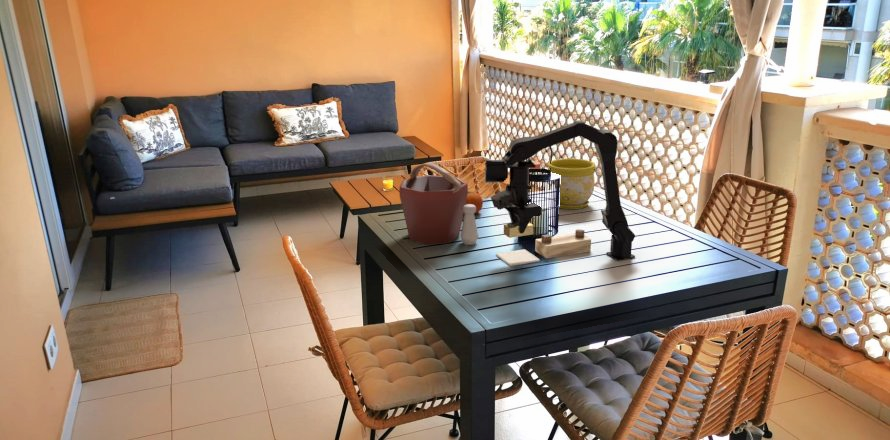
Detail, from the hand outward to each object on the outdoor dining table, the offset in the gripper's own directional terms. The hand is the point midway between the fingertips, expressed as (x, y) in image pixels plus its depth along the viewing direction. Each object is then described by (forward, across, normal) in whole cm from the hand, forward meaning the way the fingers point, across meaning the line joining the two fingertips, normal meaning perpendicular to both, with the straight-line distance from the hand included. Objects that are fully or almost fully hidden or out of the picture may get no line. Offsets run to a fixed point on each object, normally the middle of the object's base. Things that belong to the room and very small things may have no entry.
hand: (518, 231), depth 212 cm
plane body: (+9, 0, +16) cm, 18 cm away
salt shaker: (+9, -19, -8) cm, 23 cm away
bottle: (+9, -37, +25) cm, 46 cm away
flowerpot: (+9, -44, +45) cm, 64 cm away
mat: (+9, 0, 0) cm, 9 cm away
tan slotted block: (+1, 0, 0) cm, 1 cm away
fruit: (+9, -50, +5) cm, 51 cm away
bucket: (+9, -30, -17) cm, 36 cm away
